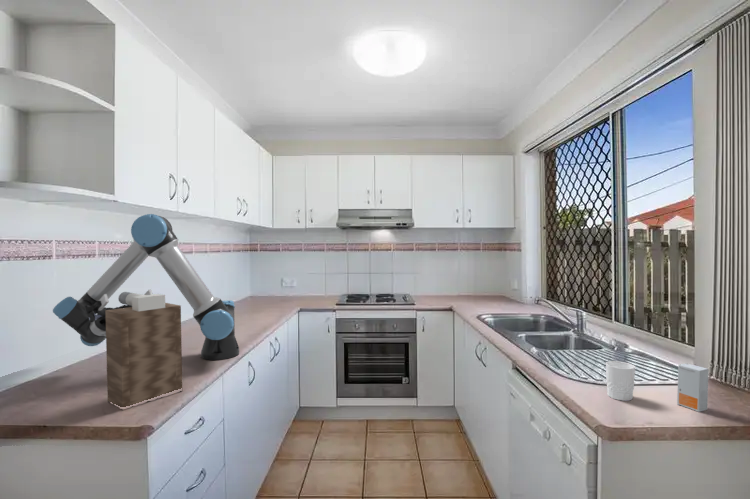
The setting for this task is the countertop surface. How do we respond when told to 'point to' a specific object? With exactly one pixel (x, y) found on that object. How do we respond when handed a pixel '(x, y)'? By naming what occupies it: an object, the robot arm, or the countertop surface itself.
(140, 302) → the knob
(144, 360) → the open wooden box
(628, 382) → the white cup
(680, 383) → the skincare box
